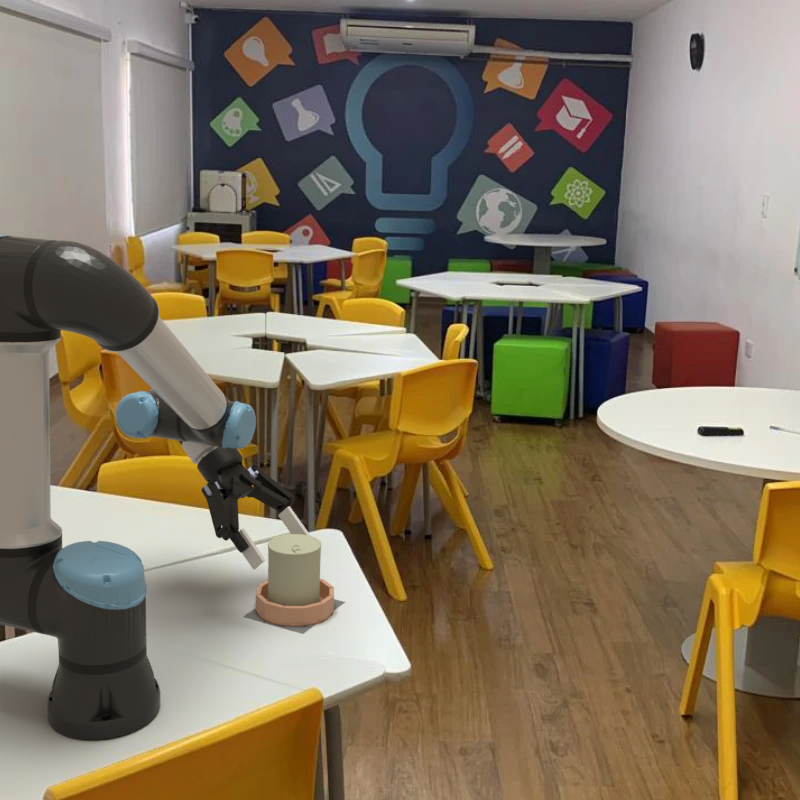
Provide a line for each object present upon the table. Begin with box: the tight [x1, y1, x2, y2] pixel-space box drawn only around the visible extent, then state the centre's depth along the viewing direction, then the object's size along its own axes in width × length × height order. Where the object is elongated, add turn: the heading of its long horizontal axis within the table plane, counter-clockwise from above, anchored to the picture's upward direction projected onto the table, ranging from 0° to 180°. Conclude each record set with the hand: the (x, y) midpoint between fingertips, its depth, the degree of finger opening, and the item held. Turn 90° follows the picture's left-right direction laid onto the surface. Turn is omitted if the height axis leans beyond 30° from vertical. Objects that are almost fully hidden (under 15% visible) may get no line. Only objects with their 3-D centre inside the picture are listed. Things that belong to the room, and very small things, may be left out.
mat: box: [242, 598, 346, 635], centre depth 169 cm, size 14×12×1 cm
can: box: [267, 533, 322, 606], centre depth 168 cm, size 9×9×12 cm
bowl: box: [255, 578, 335, 627], centre depth 169 cm, size 13×13×3 cm
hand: (283, 552), depth 167 cm, fingers open, 13 cm apart
